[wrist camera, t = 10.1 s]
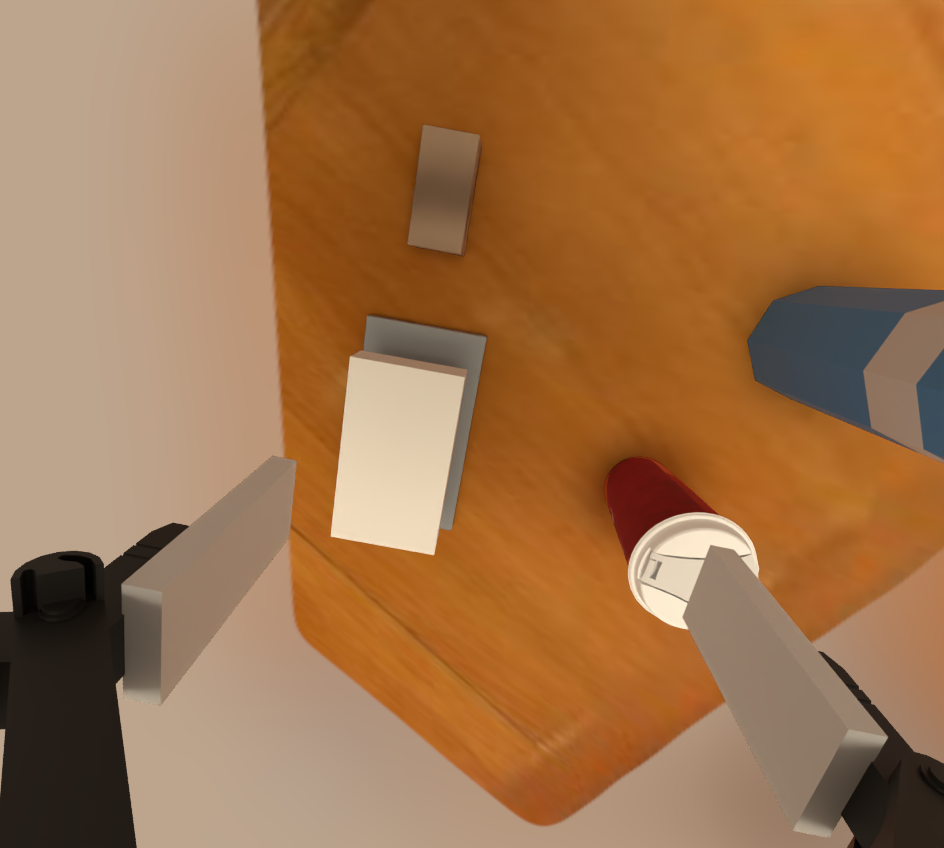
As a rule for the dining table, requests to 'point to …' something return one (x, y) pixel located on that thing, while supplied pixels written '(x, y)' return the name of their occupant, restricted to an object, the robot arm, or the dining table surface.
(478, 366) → the peg stand
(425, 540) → the shelf board
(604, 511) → the dining table surface
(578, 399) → the dining table surface
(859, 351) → the water bottle
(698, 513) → the coffee cup
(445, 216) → the riser block
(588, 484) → the dining table surface
